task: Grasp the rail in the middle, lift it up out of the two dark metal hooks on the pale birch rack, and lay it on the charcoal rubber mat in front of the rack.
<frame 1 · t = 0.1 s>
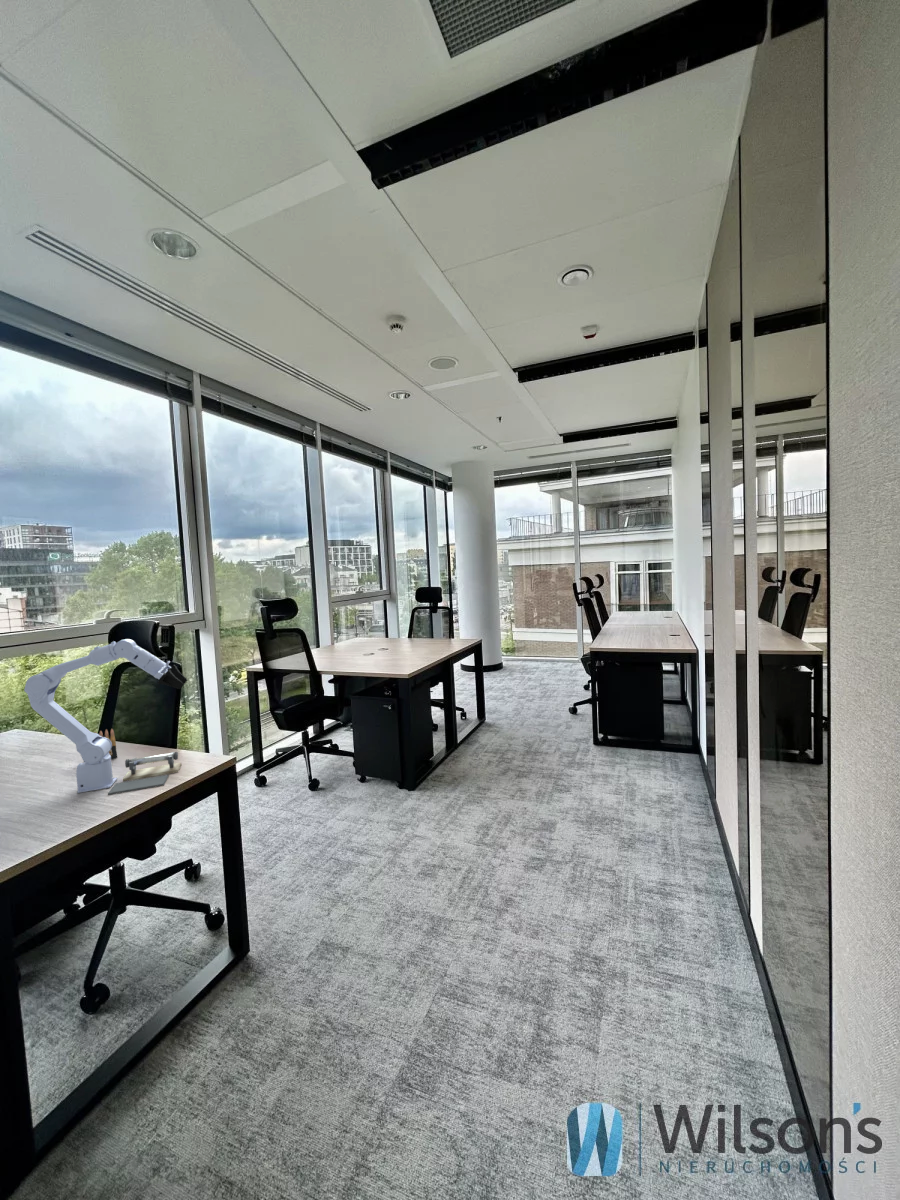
hand: (183, 684, 170), 32 cm above the table, tool tilted 50°, fingers open, 7 cm apart
rubber mat: (139, 785, 162), on the table
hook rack: (153, 772, 172), on the table
ammunition clip: (100, 761, 186), on the table
rail: (152, 762, 171), point 4 cm above the table, touching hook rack
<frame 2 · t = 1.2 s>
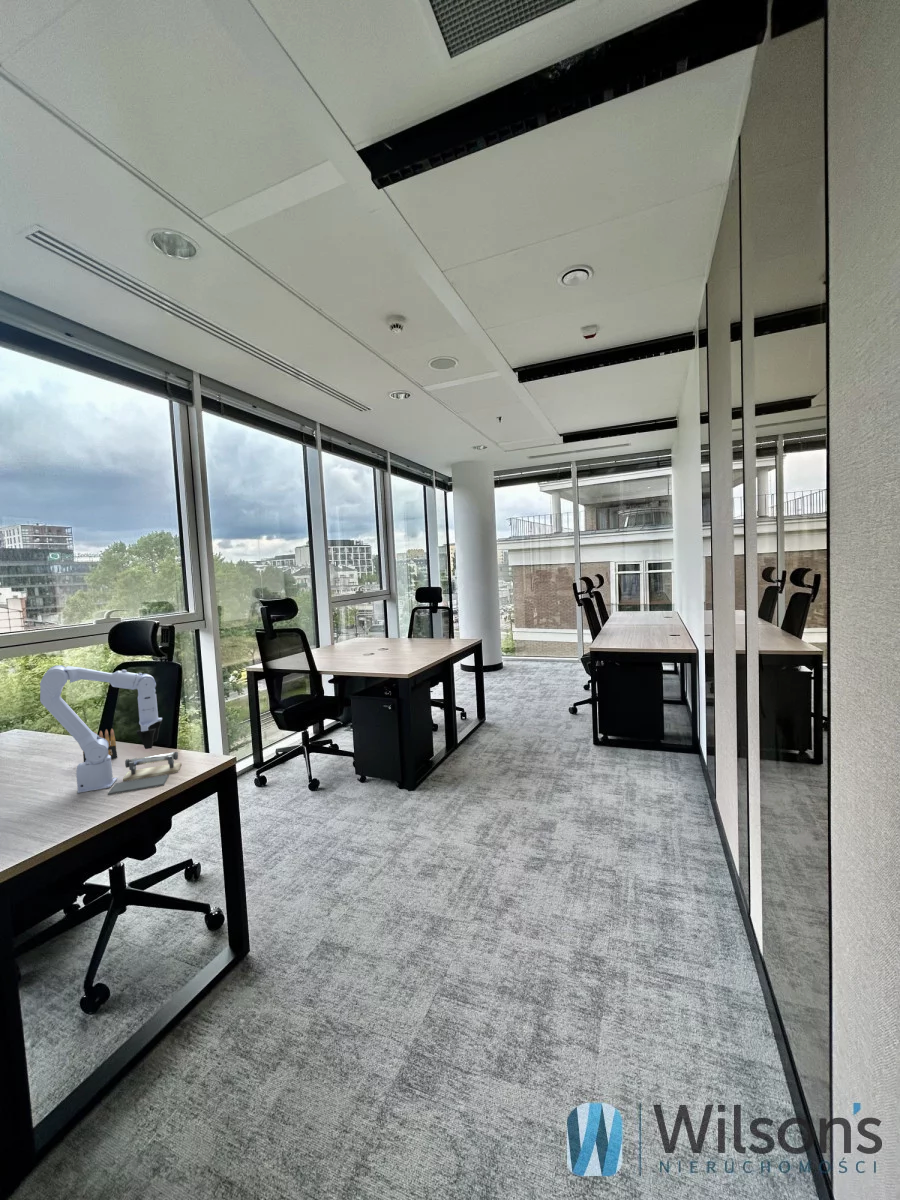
hand: (151, 744, 171), 10 cm above the table, tool pointing down, fingers open, 7 cm apart
nothing on the table moved.
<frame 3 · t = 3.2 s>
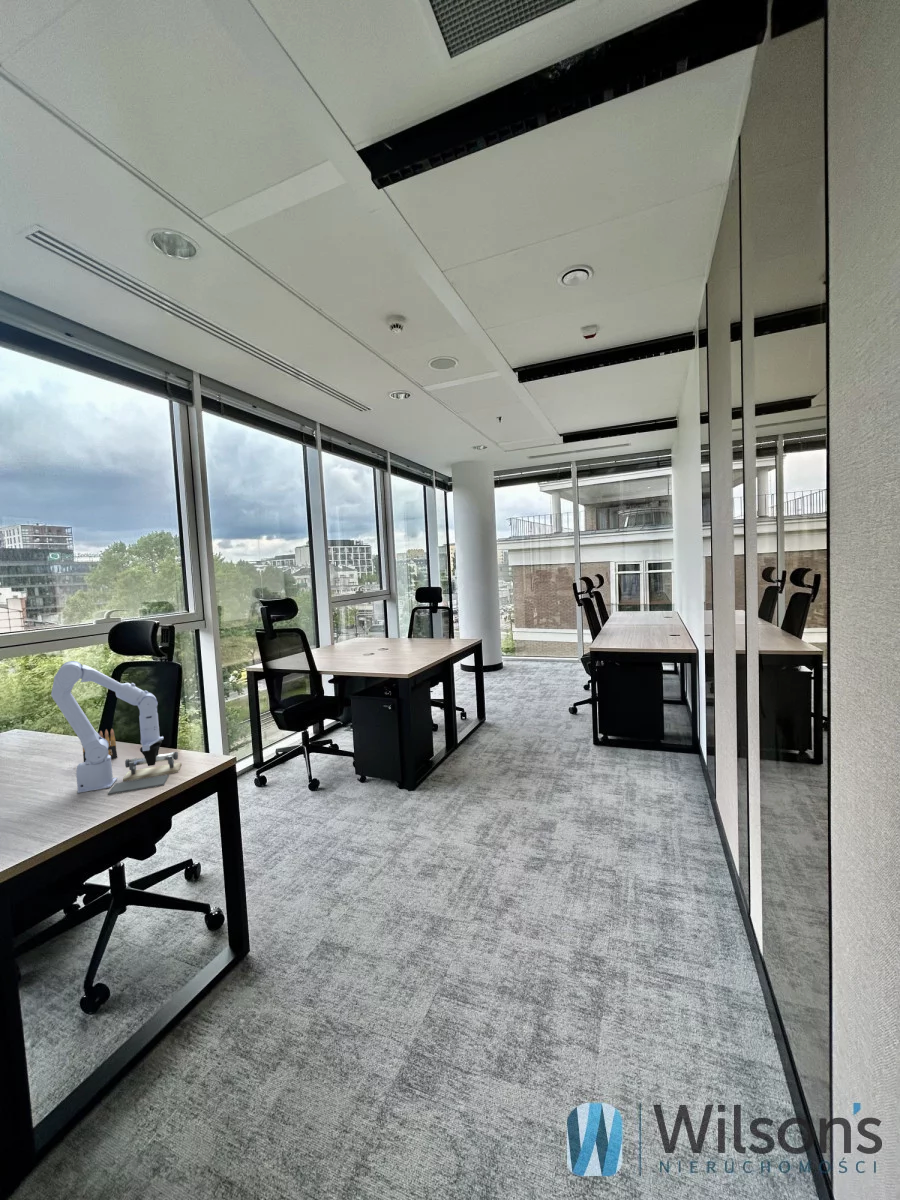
hand: (152, 763, 171), 3 cm above the table, tool pointing down, fingers closed on rail, 2 cm apart
rail: (152, 762, 171), point 4 cm above the table, touching gripper, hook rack
everything else where it was.
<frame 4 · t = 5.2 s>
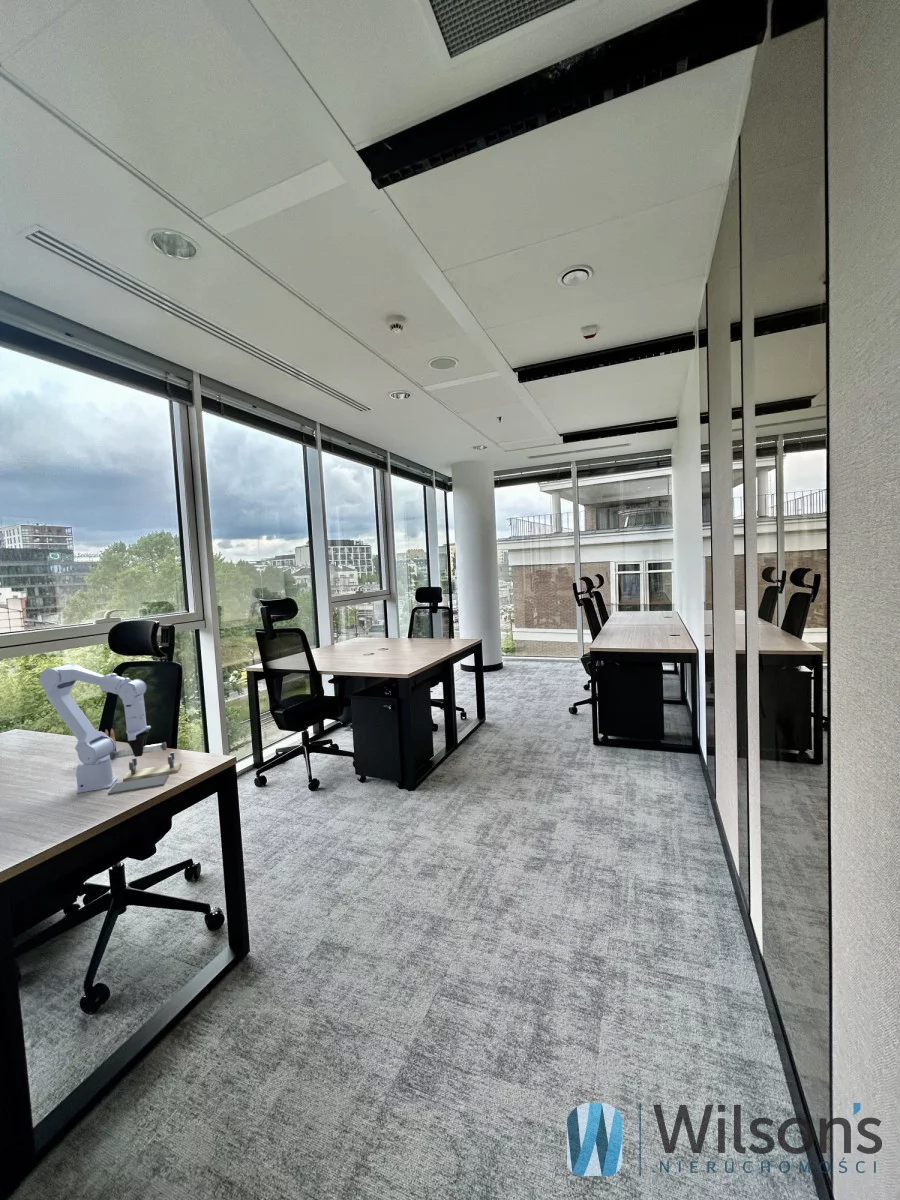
hand: (139, 754, 162), 10 cm above the table, tool pointing down, fingers closed on rail, 2 cm apart
rail: (139, 754, 162), point 11 cm above the table, touching gripper
everything else where it was.
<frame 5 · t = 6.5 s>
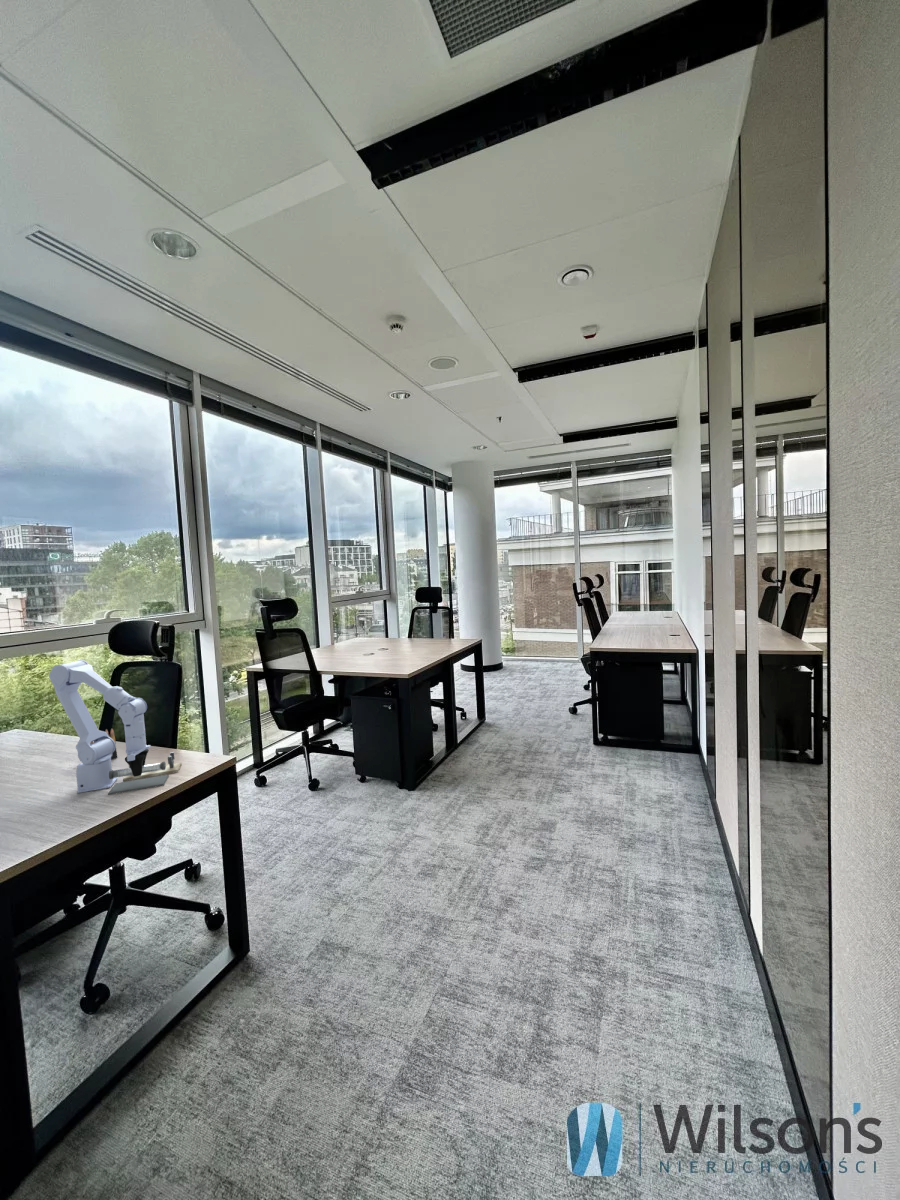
hand: (138, 774, 161), 4 cm above the table, tool pointing down, fingers closed on rail, 2 cm apart
rail: (138, 773, 161), point 4 cm above the table, touching gripper
everything else where it was.
when the fingers open (2 cm above the table, at t = 7.6 s): rail drops 1 cm, resting on rubber mat.
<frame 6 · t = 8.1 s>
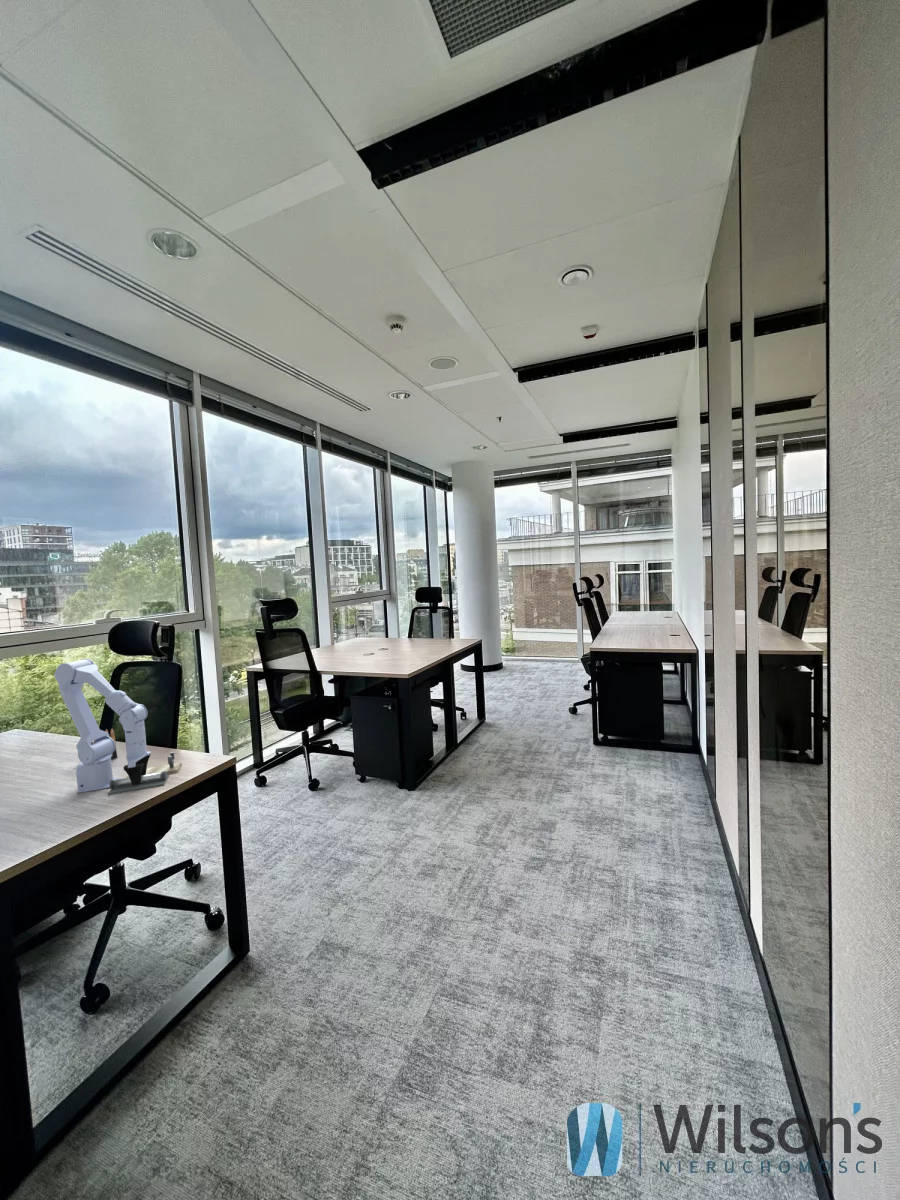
hand: (139, 780, 161), 2 cm above the table, tool pointing down, fingers open, 6 cm apart
rail: (139, 782, 161), point 1 cm above the table, tilted 7°, touching rubber mat
everything else where it was.
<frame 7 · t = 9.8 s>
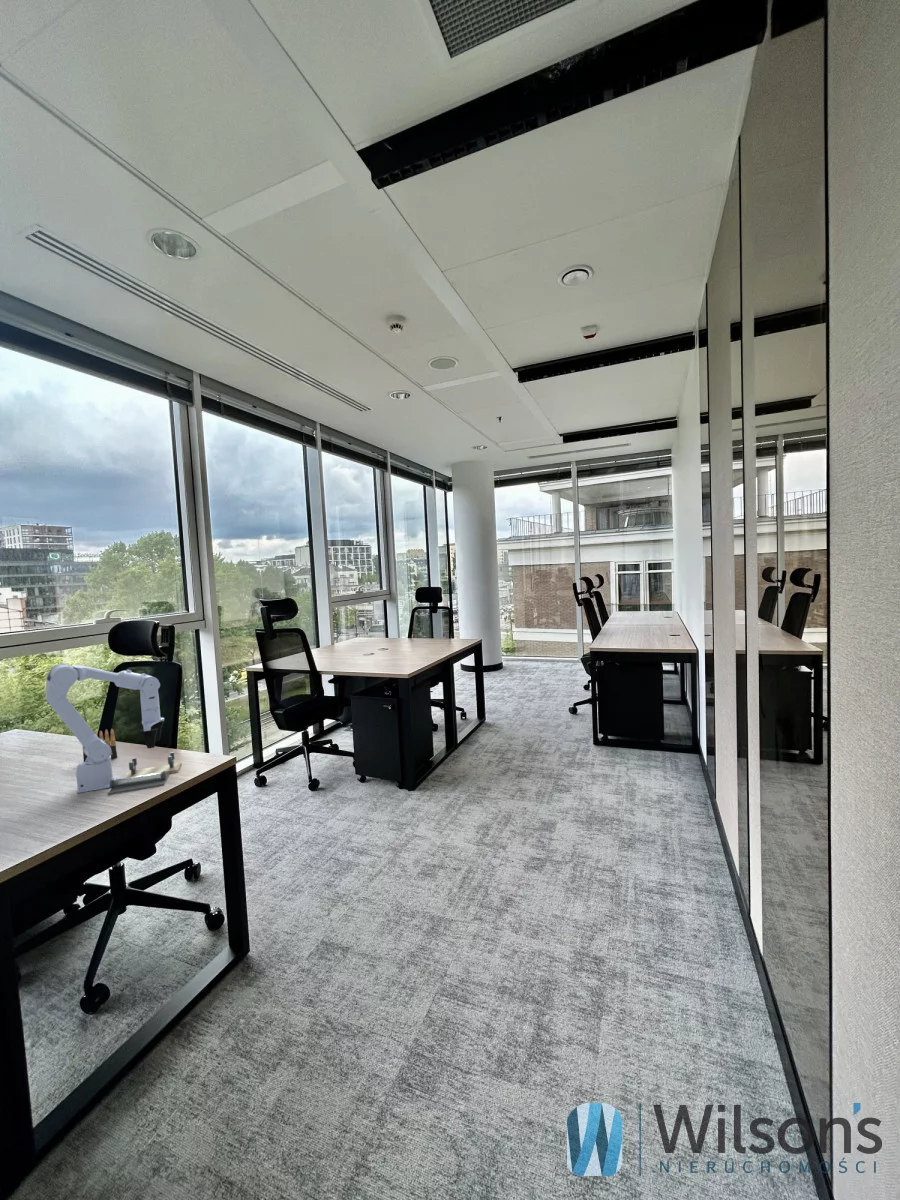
hand: (153, 744, 174), 9 cm above the table, tool pointing down, fingers open, 7 cm apart
rail: (139, 782, 162), point 1 cm above the table, touching rubber mat
everything else where it was.
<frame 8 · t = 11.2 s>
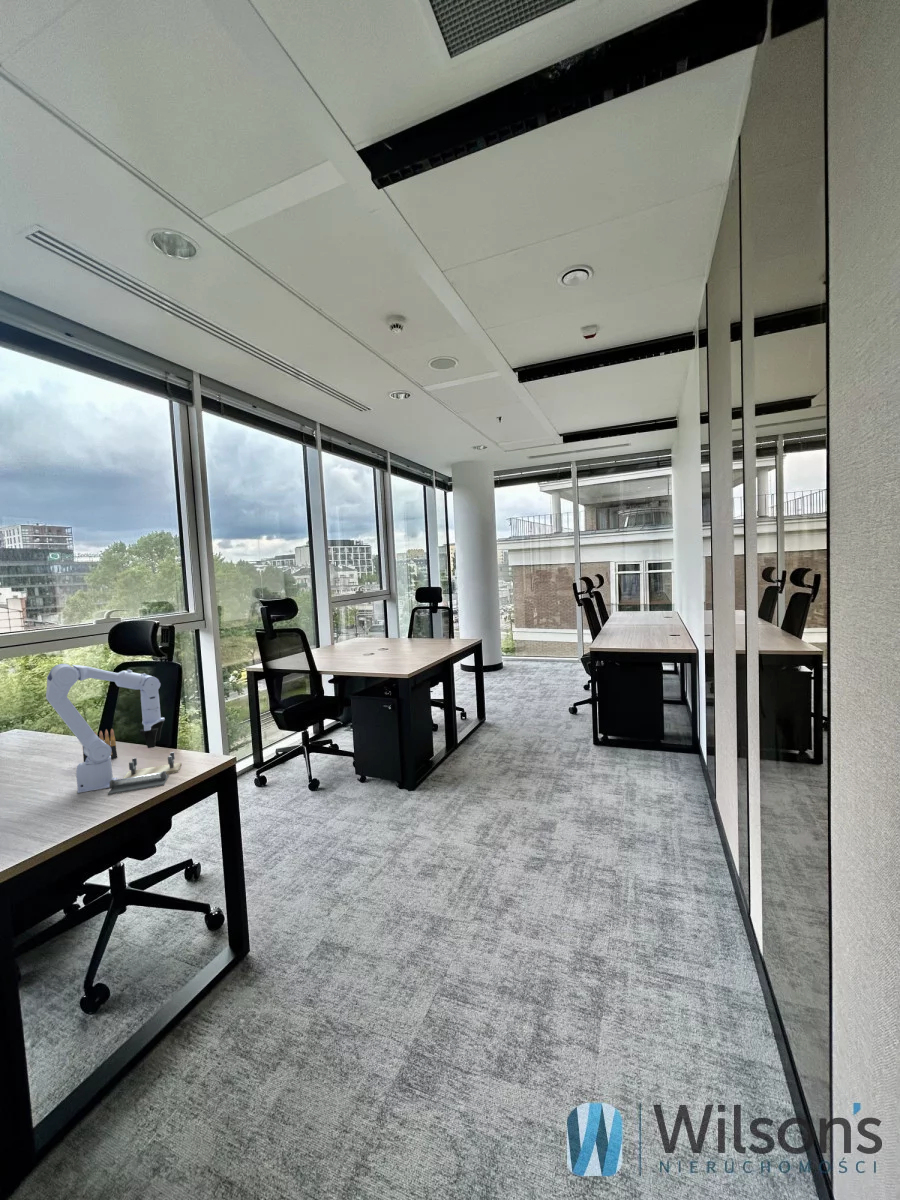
hand: (153, 744, 175), 9 cm above the table, tool pointing down, fingers open, 7 cm apart
nothing on the table moved.
at the end: rail 0.1 cm off-centre on the rubber mat, point 0.8 cm above the rubber mat's base; rail touching rubber mat; the gripper is holding nothing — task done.
